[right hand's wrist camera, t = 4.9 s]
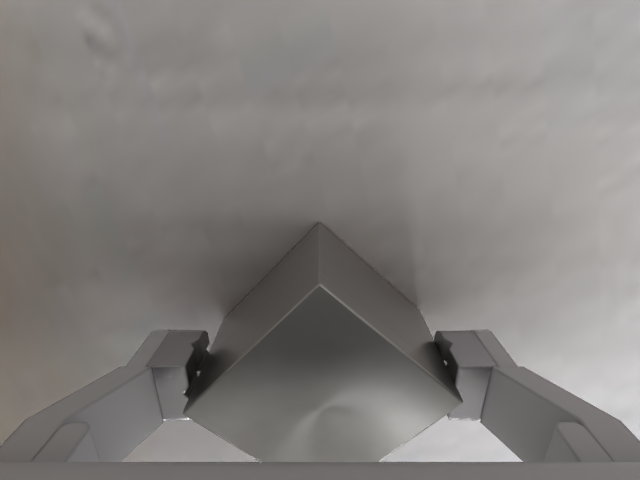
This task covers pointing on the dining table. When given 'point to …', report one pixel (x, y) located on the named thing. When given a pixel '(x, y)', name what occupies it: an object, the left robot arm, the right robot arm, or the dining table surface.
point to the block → (322, 363)
